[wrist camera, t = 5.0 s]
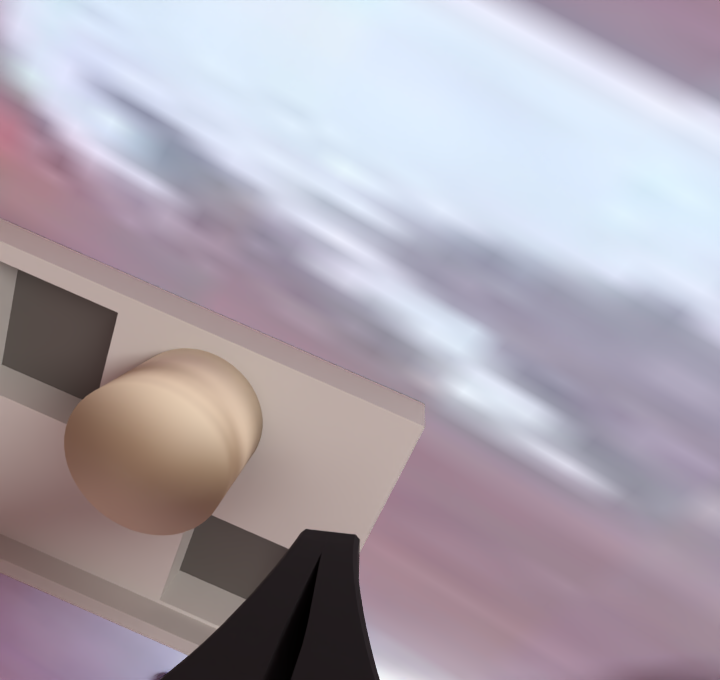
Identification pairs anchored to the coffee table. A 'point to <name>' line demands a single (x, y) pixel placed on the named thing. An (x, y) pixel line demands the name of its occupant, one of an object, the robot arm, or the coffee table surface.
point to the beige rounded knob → (164, 441)
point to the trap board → (242, 501)
